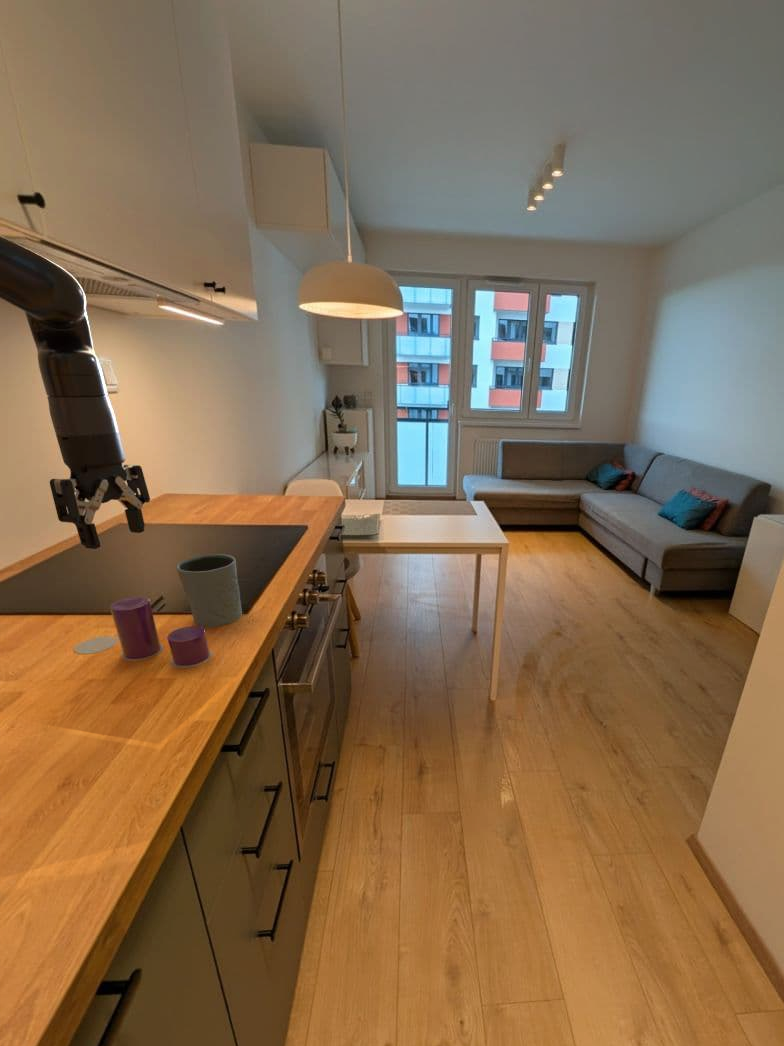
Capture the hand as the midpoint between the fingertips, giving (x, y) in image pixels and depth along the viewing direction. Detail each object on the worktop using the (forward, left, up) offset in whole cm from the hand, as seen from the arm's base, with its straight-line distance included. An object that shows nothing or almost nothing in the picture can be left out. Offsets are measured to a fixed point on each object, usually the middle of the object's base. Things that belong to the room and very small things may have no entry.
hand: (116, 539), depth 79 cm
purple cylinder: (-1, 0, -16) cm, 16 cm away
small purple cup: (-1, 0, -20) cm, 20 cm away
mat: (-1, 0, -21) cm, 21 cm away
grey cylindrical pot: (+3, +15, -21) cm, 26 cm away
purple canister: (+9, 0, -20) cm, 22 cm away
